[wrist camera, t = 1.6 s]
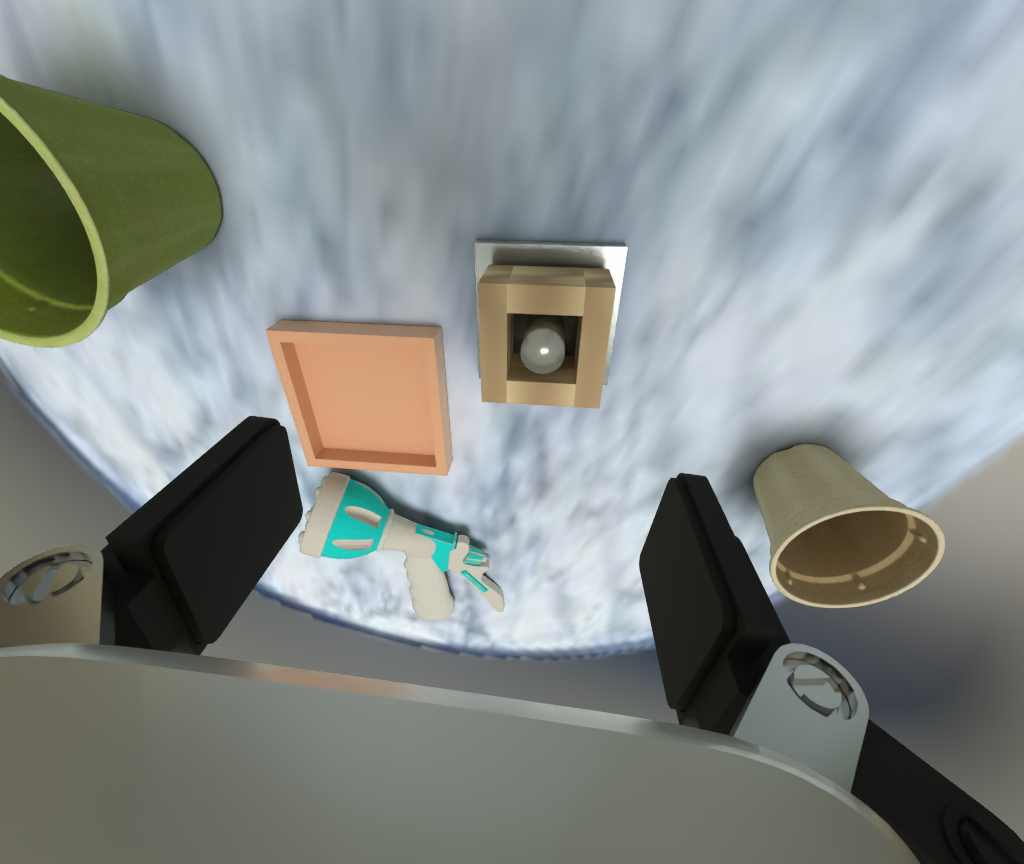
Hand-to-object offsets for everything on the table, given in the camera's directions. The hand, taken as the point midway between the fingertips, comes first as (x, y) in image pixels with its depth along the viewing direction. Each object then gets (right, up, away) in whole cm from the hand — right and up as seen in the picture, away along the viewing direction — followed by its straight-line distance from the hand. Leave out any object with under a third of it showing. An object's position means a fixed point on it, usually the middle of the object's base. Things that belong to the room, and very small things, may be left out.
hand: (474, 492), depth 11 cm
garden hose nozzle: (-8, -9, +33) cm, 35 cm away
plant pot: (-21, +17, +16) cm, 31 cm away
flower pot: (+23, -2, +24) cm, 33 cm away
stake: (+3, +9, +18) cm, 21 cm away
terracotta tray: (-10, +4, +23) cm, 25 cm away
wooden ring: (+3, +8, +17) cm, 19 cm away
